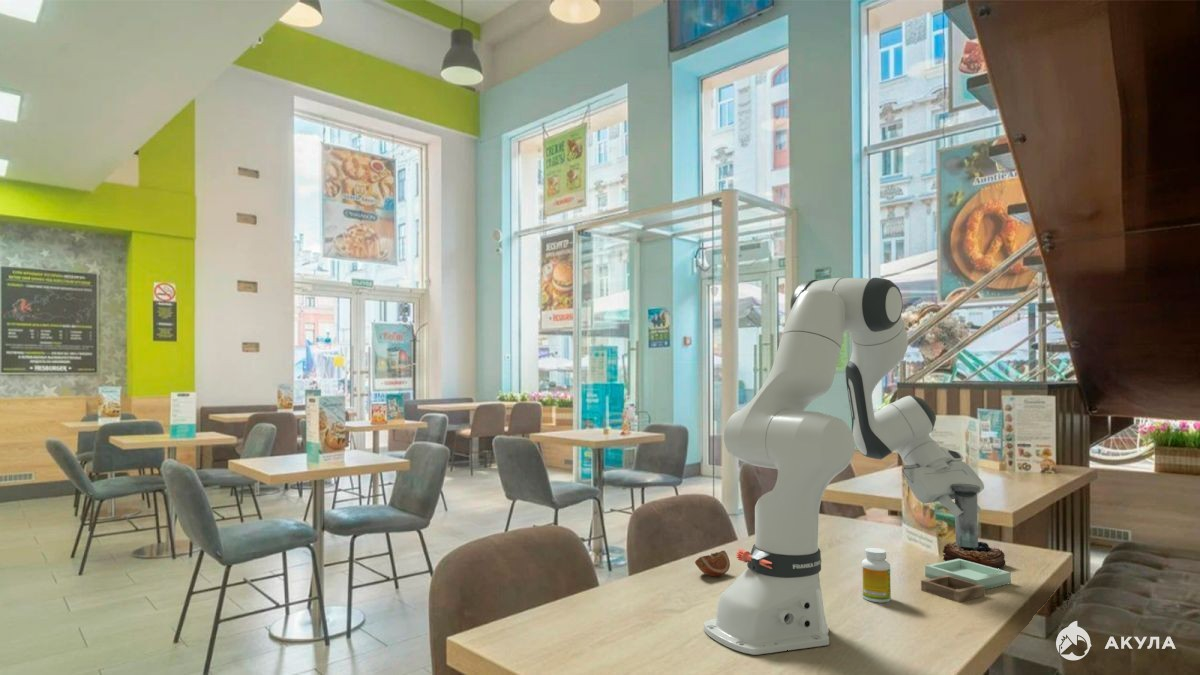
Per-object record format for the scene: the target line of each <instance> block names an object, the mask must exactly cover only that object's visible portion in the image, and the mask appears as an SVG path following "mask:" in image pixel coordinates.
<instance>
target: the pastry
mask: <svg viewBox="0 0 1200 675" xmlns="http://www.w3.org/2000/svg"><path fill="white" fill-rule="evenodd" d="M942 553H943V555H942V557H943V558H942V560H943V561H944V560H945V561H950V560H954V559H962V560H966V561H970V562H974V563H977V564H981V565H985V566H989V567H992V568H996V569H998V568H1000V569H1002V568H1003V567H1005V566H1006V560H1005V553H1004V552H1003V550H1001V549H1000V548H996V547H994V548H993V547H990V546H989V544H988V543H986V542H983V541H978V547H975V548H969V547H962V546H958V545H956V541H954V542H948V543H946V544H945V545H944V546H943V550H942ZM945 561H944V562H945ZM1004 565H1005V566H1004ZM1001 567H1002V568H1001Z"/></svg>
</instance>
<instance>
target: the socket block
mask: <svg viewBox="0 0 1200 675" xmlns="http://www.w3.org/2000/svg"><path fill="white" fill-rule="evenodd" d="M920 586H921V588H920V590H921V591H923V592H926V593H929V594H933V595H934V596H938V597H941V598H945V599H947V600H951V601H953V602H957V603H962V602H966V601H969V600H970V601H971V600H973V599H977V598H981V597H984V596H985V590H984V586H983V585H980V584H976V583H973V582H969V581H966V580H963V579H959V578H956V577H952V576H949V575H944V576H939V577H935V578H926V579H922V580H921V581H920Z"/></svg>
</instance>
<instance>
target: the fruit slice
mask: <svg viewBox="0 0 1200 675" xmlns="http://www.w3.org/2000/svg"><path fill="white" fill-rule="evenodd" d="M729 558H730V557H729V556H728V553H727V552H726V550H721V551H718V552H715V553H710V555H709V554H708V555H702V556H699V558H697V559H696V560H695V562H694V563H695V565H696V567H697V568H698V569H699V570H700V571H701V572H702V573H703V574H705V575H707V576H710V577H715V578H716V577H721V576H724V575H725V574H726V573H727V572H728V571H729V569H730V566H731V562H730V559H729Z"/></svg>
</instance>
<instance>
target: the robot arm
mask: <svg viewBox="0 0 1200 675" xmlns="http://www.w3.org/2000/svg"><path fill="white" fill-rule="evenodd" d="M902 311H903V296H902V293H901V290H900V288H899V287H898V286H897V285H896V284H895V283H894V282H893V281H892V280H890V279H887V278H882V277H872V278H863V277H862V278H861V277H845V276H843V277H842V276H841V277H834V278H826V279H820V280H818V279H812V280H809V281H805V282H802V283H801V284H799V285H798V286H797V287H796V288H795V290H794V291H793V293H792V295H791V299H790V312H789V314H788V316H787V318H786V320H785V325H784V327H783V330H782V333H781V337H780V341H779V345H778V348H777V351H776V354H775V357H774V359H773V364H772V366H771V370H769V371H770V372H769V374H768V376H767V377H766V380H765V381H764V383H763V385H762V386H761V387H760V389H759V390H758V392H757V393H756V394H755V396H753V397H752V399H751V400H749V402H748V403H746V405H744V406H743V407H742V408H740V409H739V410H737V411H735V412H734V413H732V414H731V415H730V417H729V418H728V420H727V422H726V424H725V426H724V429H723V430H724V431H723V440H724V441H723V442H724V445H725V448H726V450H727V452H728V453H729V454H730V455H731V457H733V458H735V459H737V460H739V461H740V462H743V463H745V464H748V465H751V466H754V467H760V468H768V469H772V470H773V469H774V470H777V478H776V482H775V484H774V487H773V489H772V490H770V491H767V492H765V493H764V494H762V495H761V496H760V497H759V498H758V500H757V501H756V503H755V506H754V544H753V546H752V548H751V551H748V550H745V549H743V548H739V549H737V552H736V558H737V560H738V561H740V562H743V563H747V565H746V566H747V568H745V569H744V571H743V572H742V573H741V574H740V575H739V576H737V578H736V579H735V580H734V581H733V582H732V583H731V584H730V585H729V586H728V587H727V588H726V589H725V590H724V591H723V592H722V593H720V596H719V597H718V598H719V599H718V602H717V608H716V609H717V611H716V617H715V618H711V619H708V620H706V621H704V622H703V630H704V632H705V634H706V635H707V636H709V637H710V638H712V639H713V640H715V641H716V642H717V643H719V644H721V645H722V646H725V647H727V648H730V649H732V650H734V651H737V652H740V653H743V654H747V655H748V654H749V655H753V656H755V655H756V656H757V655H758V656H759V655H763V654H772V653H778V652H779V653H780V652H786V651H787V650H788V651H794V650H800V649H801V650H802V649H808V648H816V647H823V646H824V647H825V646H829V645H830V638H829V632H830V630H829V626H828V623H827V619H826V616H825V608H824V601H823V594H822V593H823V592H822V588H821V580H820V572H821V571H822V556H821V555H822V553H821V552H822V551H821V549H820V548H819V523H820V522H819V520H820V519H819V518H820V507H821V503H822V500H823V496H824V494H825V492H826V489H827V488H828V485H830V483H831V481H833V479H834V478H835V477H837V475H839V474H840V473H842V472H843V471H844V470H846V469H847V467H848V466H849V465H850V463H851V462H852V460H853V457H854V454H855V446H856V448H857V450H859V452H860V453H861V455H862V456H865V457H867V458H869V459H874V460H883V459H884V458H886V457H888V456H889V455H890V454H893V452H896V453H897V454H898V455H899V456H900V458H901V460H902V463H903V467H902V469H901V473H902V475H903V476H904V477H905V482H906V484H907V486H908V487H909V489H910V491H911V492H912V494H913V495H914V497H915V498H916V500H918V501H919V502H920V503H922V504H931V503H938V502H939V503H940V505H941V506H943V507H944V508H945V509H947V510H949V511H950V512H951V513H952V514H953V515H954V517H955V516H956V517H957V516H961V515H962V514H964V510H963V509H962V507H961V506H960V505H959V506H957V505H956V504H955V501H953V500H955V491H954V490H952V484H972V485H977V486H980V492H977V496H978V495H979V494H980V493H981V492H982V491H983V490H985V484H984V482H983V480H982V479H981V478H980V477H979V475H978V474H977V473H976V471H974V469H973V468H972V467H971V465H969V464H968V463H967V462H965V461H964V457H963V455H962V453H961V452H960V451H959V452H958V451H955V450H951V449H949V448H946V447H943V446H940V445H939V443H937V441H936V440H934V439H933V438H932V437H931V436H930V433H932V432H933V431H934V428H935V423H936V420H937V416H936V414H935V412H934V410H933V409H932V408H931V407H930V405H929V404H928V403H927V401H925V400H924V399H923V398H921V397H918V396H916V395H911V394H909V395H906V396H903V397H901V398H899V399H898V400H895V401H894V402H890V403H888V404H886V405H884V406H882V407H881V408H880V409H878V410H877V411H874V405H873V404H874V403H873V393H874V390H875V389H876V386H878V384H879V383H880V382H881V380H882V379H884V378H885V377H886V375H887V374H888V373H890V372H891V371H892V370H893V369H894V368H895V367H897V366H898V364H899V363H900V362H901V361H902V360H903V359H904V357H905V356H906V352H907V350H908V344H909V343H908V341H909V340H908V334H907V331H906V327H905V324H904V320H903V318H902V313H903V312H902ZM845 333H847V334H849V335H850V336H849V337H850V340H851V344H852V347H851V348H852V349H851V355H850V357H849V358H850V359H849V361H848V363H847V364H846V365H845V370H844V371H845V383H846V389H847V390H846V391H847V396H848V403H849V410H850V415H851V427H850V426H849V425H848V423H847V422H846V421H845V420H843V419H842V418H838V417H836V416H832V415H831V414H826V413H824V412H819V411H806V408H807V407H808V406H809V405H810V404H811V403H812V402H814V401H815V400H816V399H818V398H820V397H822V396H823V395H824V394H826V393H827V392H828V391H830V388H831V387H832V385H833V382H834V377H835V374H836V370H837V366H838V365H837V364H838V362H839V357H840V354H841V349H842V345H843V339H844V334H845ZM977 510H978V513H980V512H981V510H982V508H981V506H980V505H979V504H978V503H977Z"/></svg>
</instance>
